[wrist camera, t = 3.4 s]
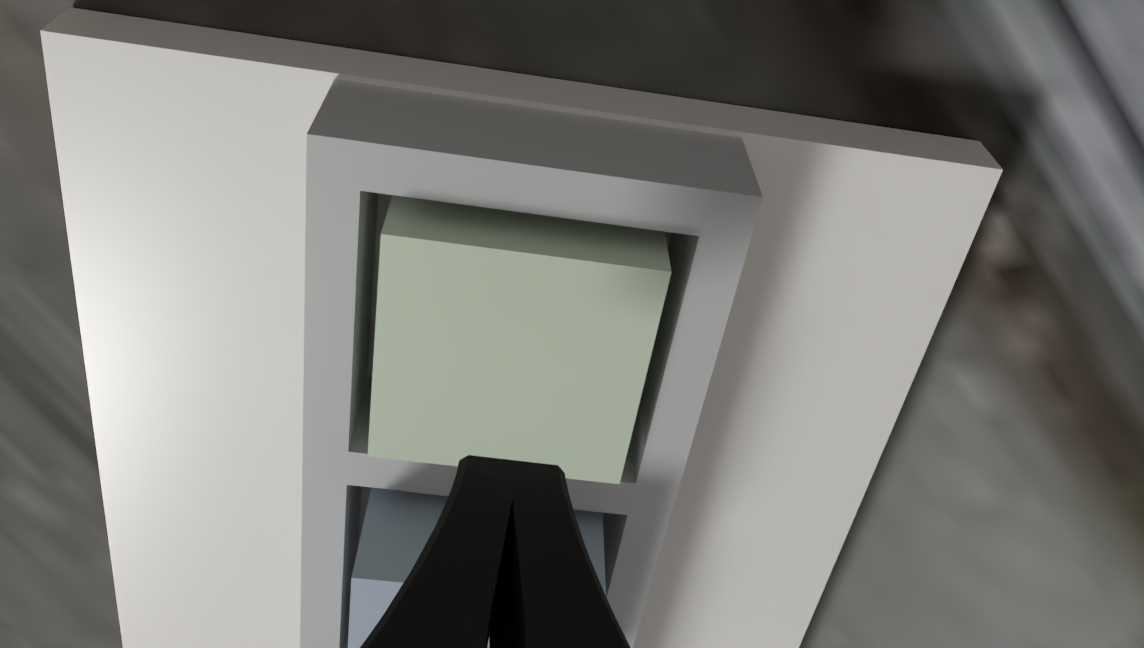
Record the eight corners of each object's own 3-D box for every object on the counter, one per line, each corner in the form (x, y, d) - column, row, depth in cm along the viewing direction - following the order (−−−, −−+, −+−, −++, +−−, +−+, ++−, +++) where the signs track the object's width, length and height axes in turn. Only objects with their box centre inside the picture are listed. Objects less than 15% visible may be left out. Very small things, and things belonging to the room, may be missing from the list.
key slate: (602, 512, 20) (606, 603, 18) (567, 660, 22) (567, 752, 20) (371, 488, 19) (351, 577, 17) (361, 640, 22) (343, 733, 20)
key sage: (660, 205, 17) (671, 272, 16) (614, 406, 20) (619, 483, 18) (400, 169, 17) (380, 234, 15) (385, 378, 19) (367, 456, 18)
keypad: (979, 140, 19) (1053, 232, 16) (684, 867, 32) (696, 984, 30) (70, 7, 17) (-26, 80, 14) (165, 828, 31) (125, 948, 28)
